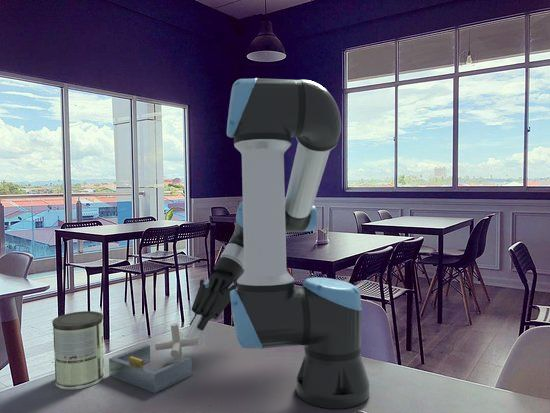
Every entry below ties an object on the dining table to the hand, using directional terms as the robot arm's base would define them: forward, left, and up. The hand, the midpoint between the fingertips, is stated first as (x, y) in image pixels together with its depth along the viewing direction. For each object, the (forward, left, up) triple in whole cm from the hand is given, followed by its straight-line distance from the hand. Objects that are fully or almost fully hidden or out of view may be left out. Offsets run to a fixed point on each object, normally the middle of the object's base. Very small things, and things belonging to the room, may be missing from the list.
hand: (189, 339), depth 114 cm
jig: (-1, +12, -4) cm, 13 cm away
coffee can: (+11, +23, -4) cm, 26 cm away
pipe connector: (-2, +5, -4) cm, 7 cm away
